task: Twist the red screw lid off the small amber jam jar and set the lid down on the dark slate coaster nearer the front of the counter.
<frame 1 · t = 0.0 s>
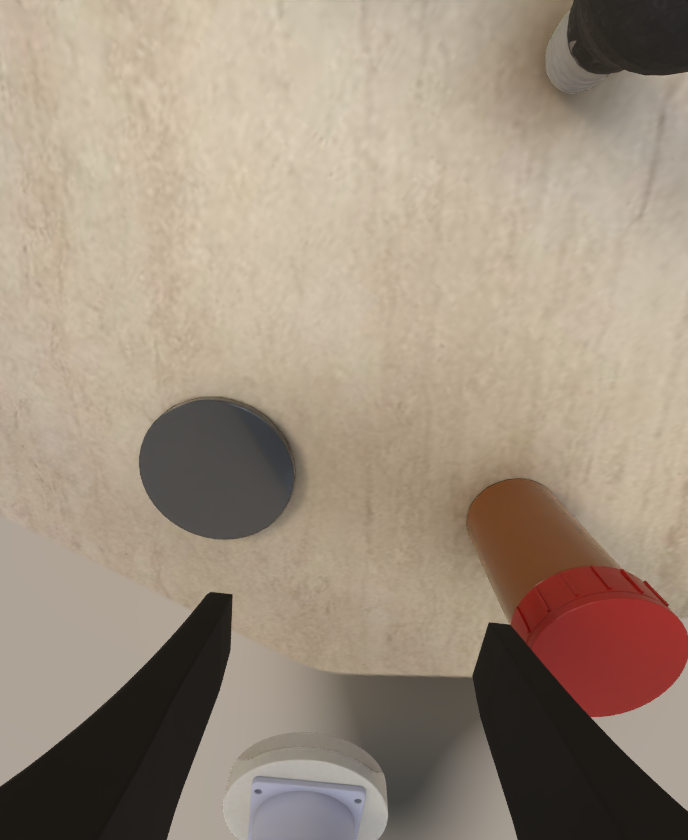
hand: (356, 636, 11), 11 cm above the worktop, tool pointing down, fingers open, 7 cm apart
light bulb: (564, 67, 16), on the worktop
lid: (601, 654, 14), point 8 cm above the worktop, screwed on, not yet turned
jar: (512, 519, 22), on the worktop
coaster: (219, 469, 22), on the worktop
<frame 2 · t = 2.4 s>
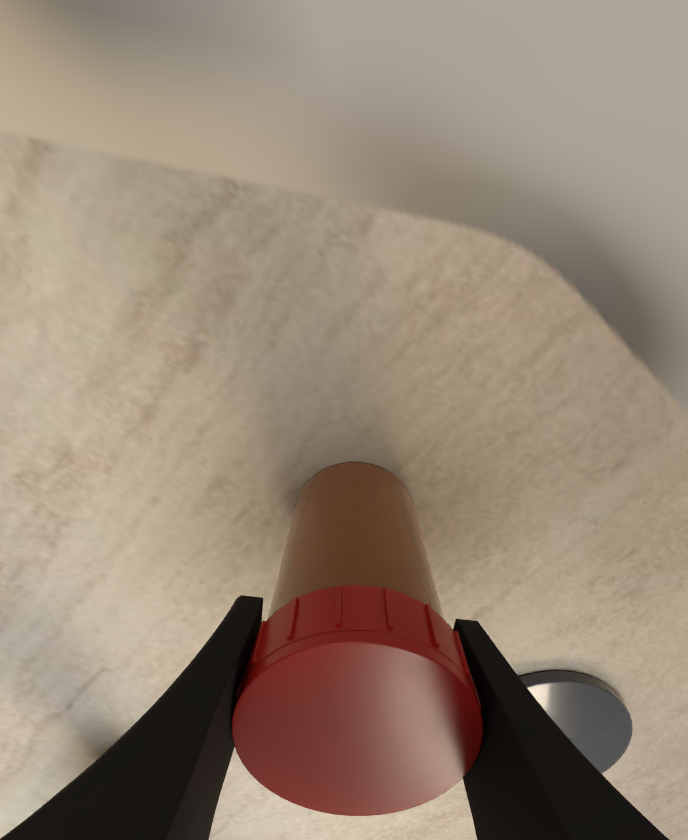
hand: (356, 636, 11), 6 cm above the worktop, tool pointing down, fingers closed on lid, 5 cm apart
lid: (356, 723, 9), point 8 cm above the worktop, screwed on, not yet turned, touching gripper
jar: (354, 515, 17), on the worktop
coaster: (545, 727, 21), on the worktop
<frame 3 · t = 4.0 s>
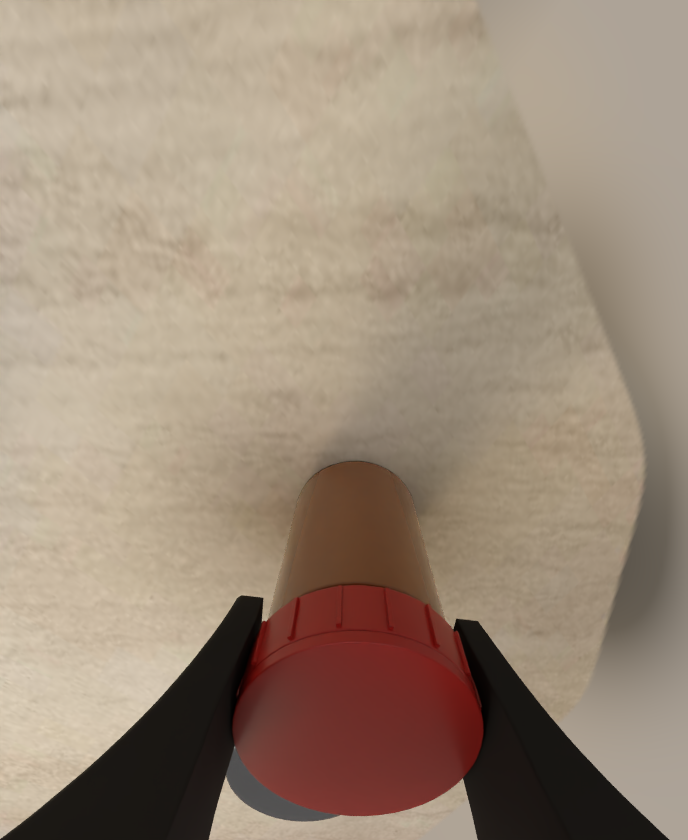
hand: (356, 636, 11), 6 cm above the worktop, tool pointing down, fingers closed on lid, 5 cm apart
lid: (357, 724, 9), point 9 cm above the worktop, turned 48° so far, risen 0.1 cm, still on its thread, touching gripper
jar: (355, 514, 17), on the worktop
coaster: (300, 763, 23), on the worktop
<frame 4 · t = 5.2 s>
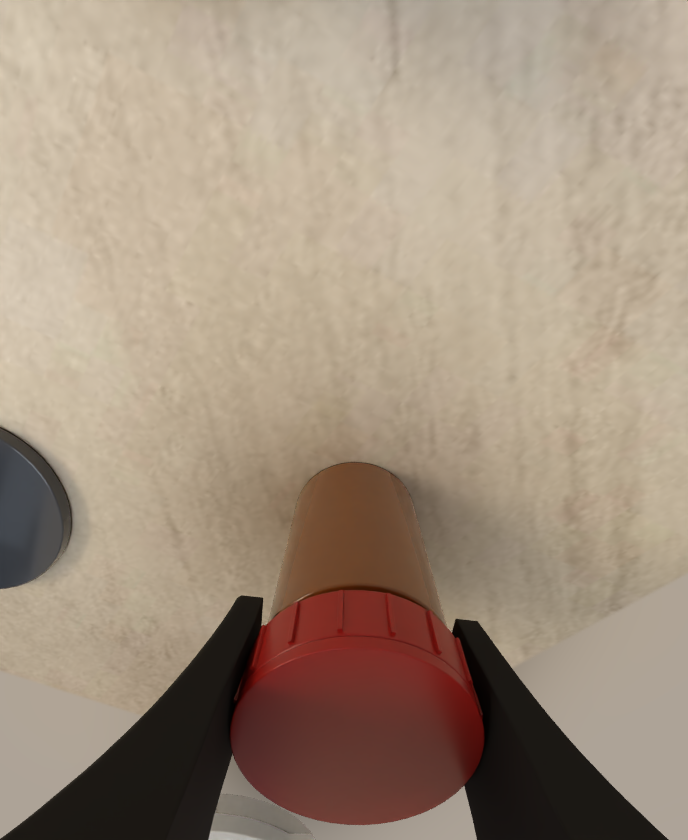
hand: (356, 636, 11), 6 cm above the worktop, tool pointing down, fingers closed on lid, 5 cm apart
lid: (356, 731, 9), point 9 cm above the worktop, off its thread, touching gripper
jar: (354, 515, 17), on the worktop
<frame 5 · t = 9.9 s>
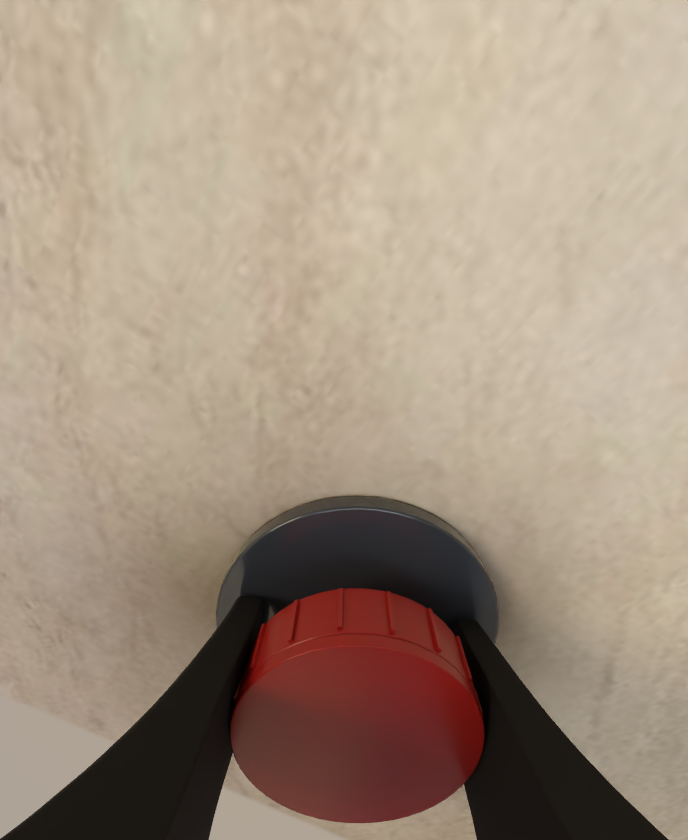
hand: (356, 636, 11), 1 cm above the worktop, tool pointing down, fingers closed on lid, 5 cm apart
lid: (356, 729, 9), point 3 cm above the worktop, off its thread, touching gripper
coaster: (356, 614, 12), on the worktop
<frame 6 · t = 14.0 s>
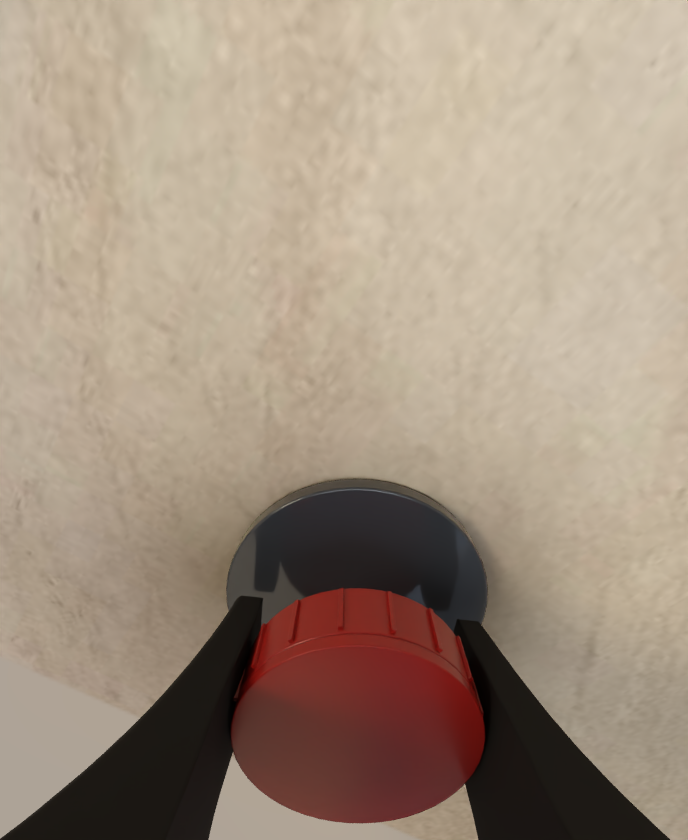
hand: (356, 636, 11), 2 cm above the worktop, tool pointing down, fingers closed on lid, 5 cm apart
lid: (357, 729, 9), point 4 cm above the worktop, off its thread, touching gripper
coaster: (356, 590, 13), on the worktop
when the fingers open (2 cm above the worktop, at t = 17.8 s): lid drops 2 cm, resting on coaster.
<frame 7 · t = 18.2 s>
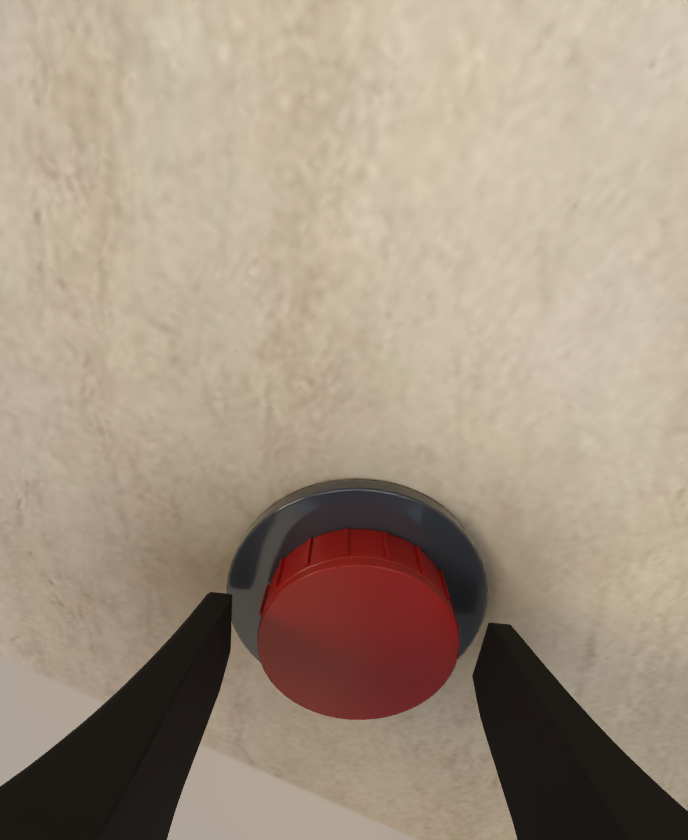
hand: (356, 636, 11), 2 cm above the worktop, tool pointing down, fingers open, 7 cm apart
lid: (357, 639, 11), point 2 cm above the worktop, off its thread, touching coaster
coaster: (356, 590, 13), on the worktop
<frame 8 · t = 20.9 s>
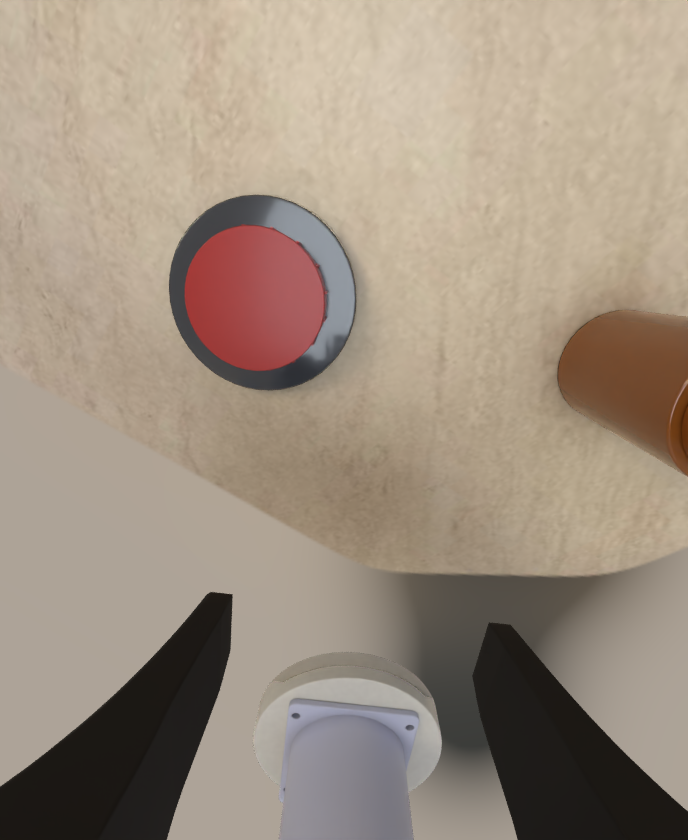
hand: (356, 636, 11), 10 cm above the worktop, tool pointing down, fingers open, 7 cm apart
lid: (256, 301, 16), point 2 cm above the worktop, off its thread, touching coaster
jar: (612, 366, 19), on the worktop
coaster: (265, 299, 18), on the worktop
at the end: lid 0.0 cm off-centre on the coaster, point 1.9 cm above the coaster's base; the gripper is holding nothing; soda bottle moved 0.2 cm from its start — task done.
